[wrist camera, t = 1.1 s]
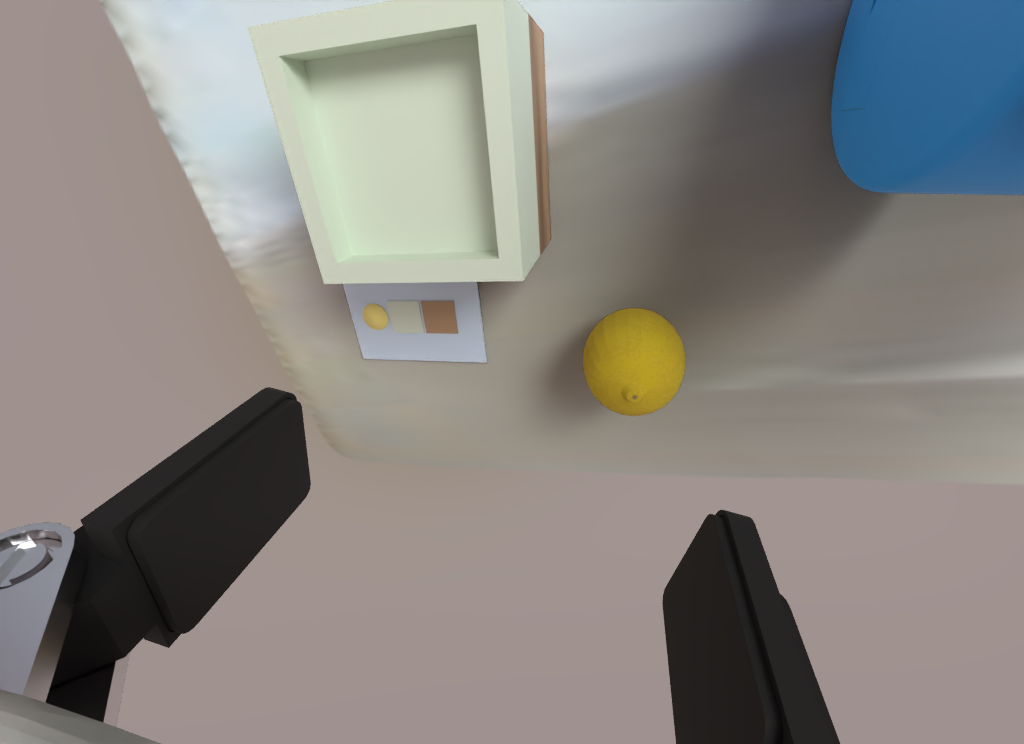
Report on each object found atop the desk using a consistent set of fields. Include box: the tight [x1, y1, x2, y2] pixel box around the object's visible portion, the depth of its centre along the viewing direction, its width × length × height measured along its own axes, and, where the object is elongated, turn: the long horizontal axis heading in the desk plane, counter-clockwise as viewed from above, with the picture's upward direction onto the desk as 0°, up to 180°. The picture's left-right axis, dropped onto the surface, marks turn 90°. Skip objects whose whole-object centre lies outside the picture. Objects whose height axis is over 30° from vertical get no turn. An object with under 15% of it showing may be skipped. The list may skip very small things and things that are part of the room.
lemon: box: [583, 308, 685, 416], centre depth 24 cm, size 6×6×8 cm
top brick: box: [248, 0, 540, 284], centre depth 19 cm, size 10×10×4 cm
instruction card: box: [343, 282, 487, 363], centre depth 30 cm, size 10×7×1 cm
